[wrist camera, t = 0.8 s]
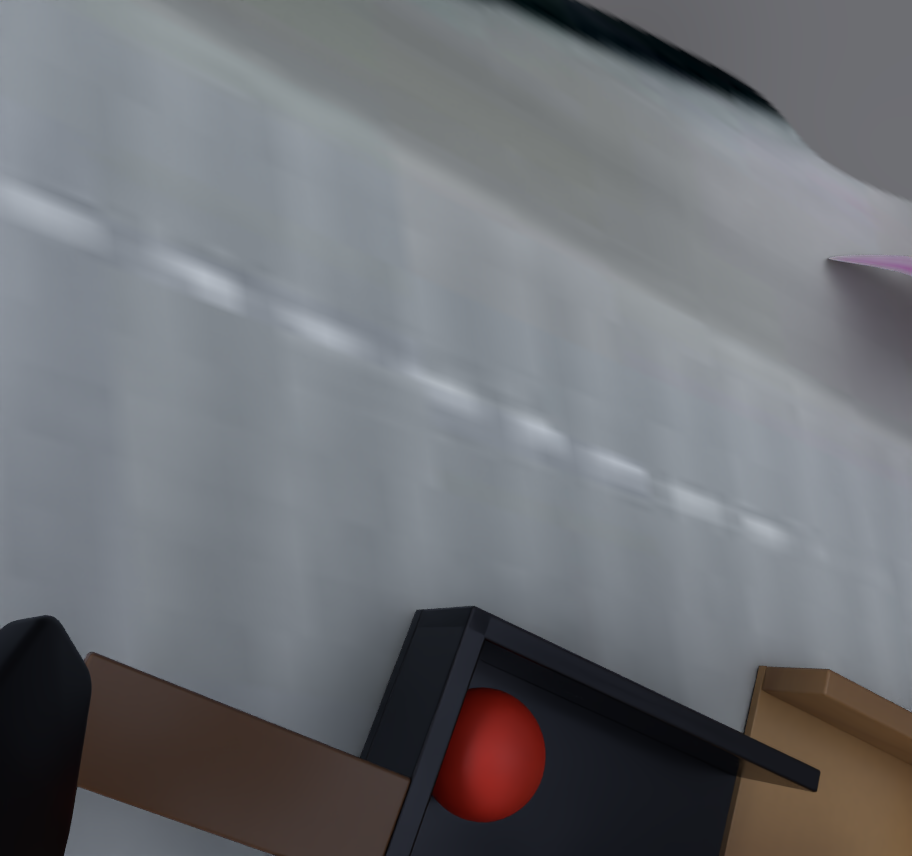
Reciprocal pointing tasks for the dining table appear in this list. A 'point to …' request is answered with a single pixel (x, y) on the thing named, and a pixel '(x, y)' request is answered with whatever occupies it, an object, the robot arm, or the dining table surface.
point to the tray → (825, 770)
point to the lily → (880, 262)
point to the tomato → (491, 758)
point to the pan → (433, 757)
